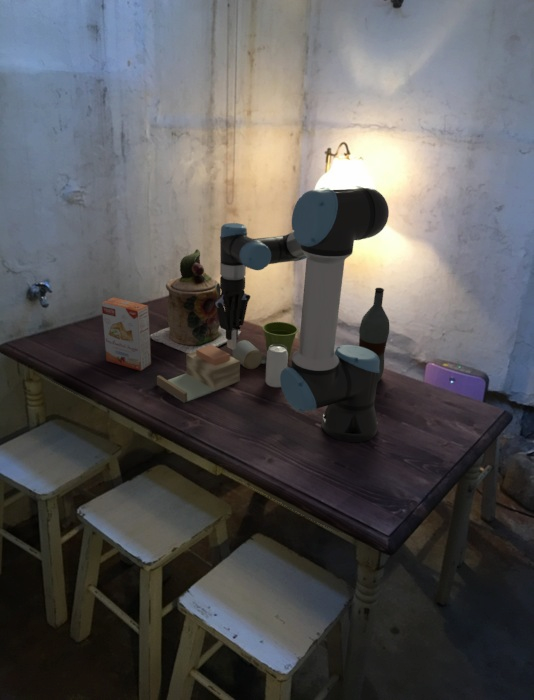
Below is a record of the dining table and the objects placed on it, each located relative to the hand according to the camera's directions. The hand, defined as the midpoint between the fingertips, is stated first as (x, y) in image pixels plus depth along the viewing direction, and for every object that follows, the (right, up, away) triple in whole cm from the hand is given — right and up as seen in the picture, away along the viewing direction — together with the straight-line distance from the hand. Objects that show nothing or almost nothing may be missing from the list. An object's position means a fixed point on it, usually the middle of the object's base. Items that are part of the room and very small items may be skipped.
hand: (231, 347), depth 181 cm
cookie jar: (-15, +3, +26) cm, 30 cm away
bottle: (+44, -10, +4) cm, 45 cm away
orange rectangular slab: (-5, -3, -4) cm, 8 cm away
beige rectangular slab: (-6, -9, -1) cm, 11 cm away
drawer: (-13, -12, -8) cm, 20 cm away
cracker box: (-34, -5, +5) cm, 35 cm away
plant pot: (+15, -4, +13) cm, 21 cm away
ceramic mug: (+6, -6, +9) cm, 12 cm away
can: (+14, -11, -3) cm, 18 cm away
